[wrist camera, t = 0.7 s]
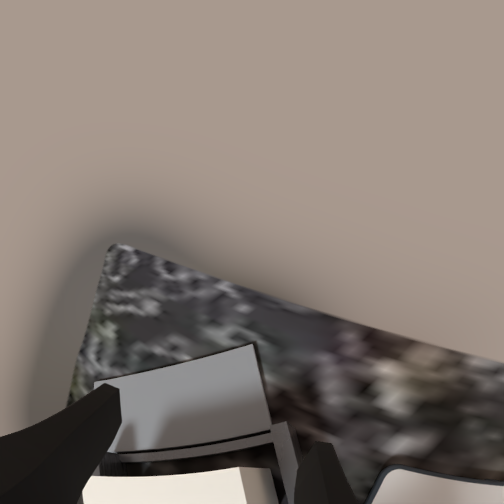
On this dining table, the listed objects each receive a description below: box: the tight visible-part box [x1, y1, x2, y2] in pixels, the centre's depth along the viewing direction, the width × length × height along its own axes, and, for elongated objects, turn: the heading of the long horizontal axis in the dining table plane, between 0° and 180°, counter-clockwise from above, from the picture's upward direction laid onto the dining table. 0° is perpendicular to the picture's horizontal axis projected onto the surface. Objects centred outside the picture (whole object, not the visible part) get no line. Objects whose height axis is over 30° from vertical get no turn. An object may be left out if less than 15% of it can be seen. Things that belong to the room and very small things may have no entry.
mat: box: [94, 344, 272, 453], centre depth 25 cm, size 8×18×1 cm, turn 102°
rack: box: [92, 421, 303, 504], centre depth 18 cm, size 9×17×4 cm, turn 102°
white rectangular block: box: [83, 467, 279, 504], centre depth 16 cm, size 4×12×8 cm, turn 102°
